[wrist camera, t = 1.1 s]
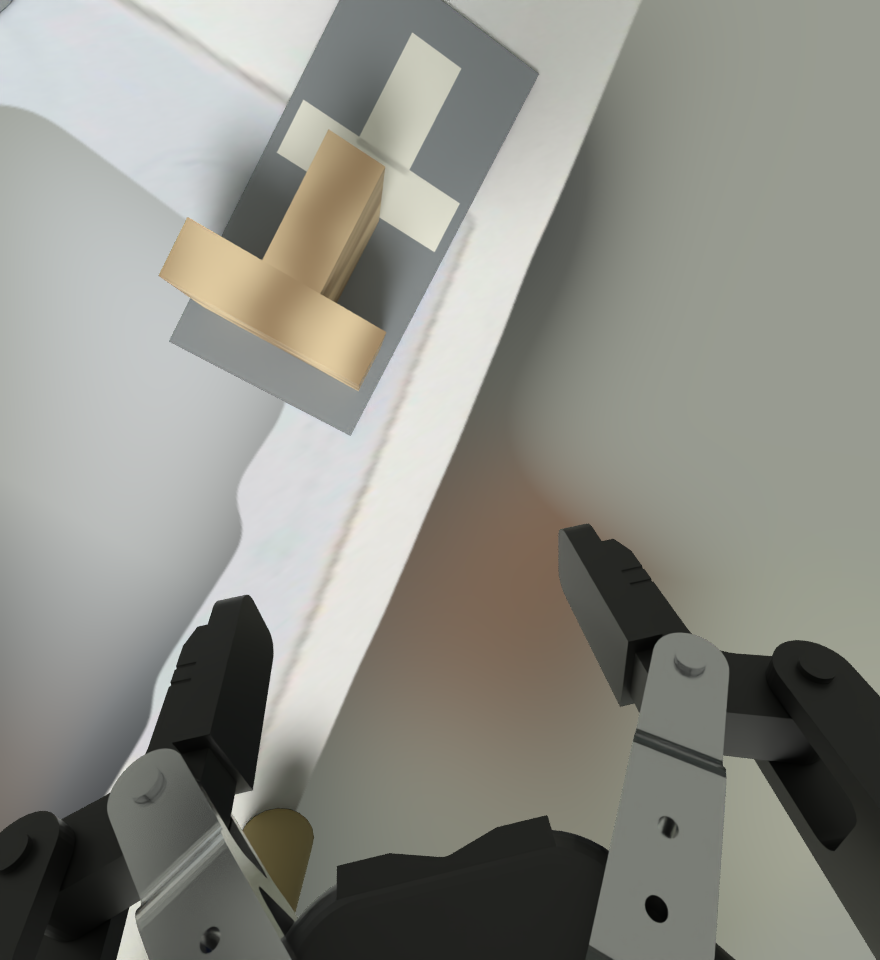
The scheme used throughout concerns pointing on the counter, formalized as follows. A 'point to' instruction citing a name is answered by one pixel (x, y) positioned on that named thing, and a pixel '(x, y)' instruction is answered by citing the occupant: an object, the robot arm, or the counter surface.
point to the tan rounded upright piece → (282, 848)
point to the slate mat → (407, 179)
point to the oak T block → (297, 267)
